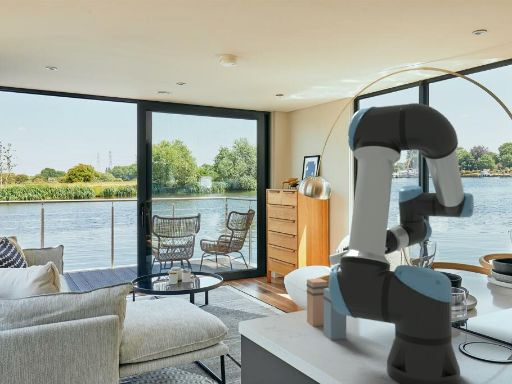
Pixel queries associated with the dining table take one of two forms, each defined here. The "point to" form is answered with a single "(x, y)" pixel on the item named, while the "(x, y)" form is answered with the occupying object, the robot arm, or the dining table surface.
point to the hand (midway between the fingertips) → (331, 260)
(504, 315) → the dining table surface
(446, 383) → the robot arm
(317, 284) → the post
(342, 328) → the post
